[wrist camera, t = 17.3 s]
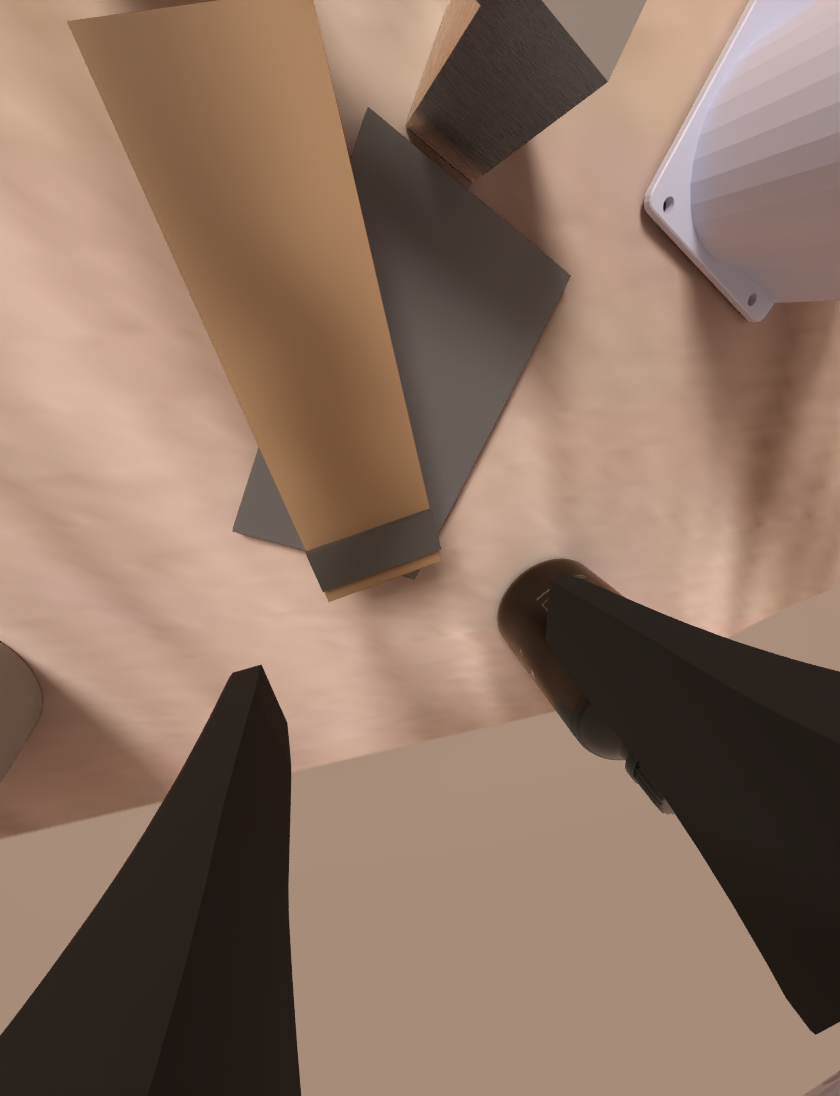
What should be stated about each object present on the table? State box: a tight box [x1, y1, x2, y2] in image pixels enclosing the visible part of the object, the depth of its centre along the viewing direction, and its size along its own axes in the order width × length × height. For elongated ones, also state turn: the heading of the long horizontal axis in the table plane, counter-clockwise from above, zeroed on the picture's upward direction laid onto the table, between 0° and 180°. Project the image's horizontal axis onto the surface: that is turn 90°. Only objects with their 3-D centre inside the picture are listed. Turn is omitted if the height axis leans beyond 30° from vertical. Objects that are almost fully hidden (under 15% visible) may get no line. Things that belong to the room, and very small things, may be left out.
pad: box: [233, 107, 571, 579], centre depth 17 cm, size 9×15×1 cm, turn 154°
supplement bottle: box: [498, 559, 675, 814], centre depth 20 cm, size 7×7×12 cm
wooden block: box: [67, 0, 442, 602], centre depth 13 cm, size 4×14×5 cm, turn 14°
